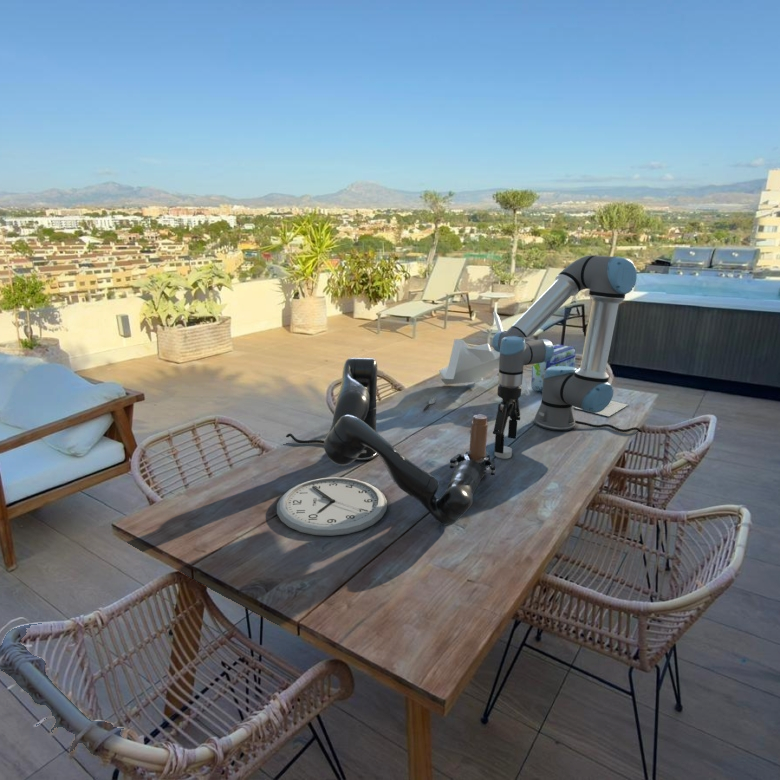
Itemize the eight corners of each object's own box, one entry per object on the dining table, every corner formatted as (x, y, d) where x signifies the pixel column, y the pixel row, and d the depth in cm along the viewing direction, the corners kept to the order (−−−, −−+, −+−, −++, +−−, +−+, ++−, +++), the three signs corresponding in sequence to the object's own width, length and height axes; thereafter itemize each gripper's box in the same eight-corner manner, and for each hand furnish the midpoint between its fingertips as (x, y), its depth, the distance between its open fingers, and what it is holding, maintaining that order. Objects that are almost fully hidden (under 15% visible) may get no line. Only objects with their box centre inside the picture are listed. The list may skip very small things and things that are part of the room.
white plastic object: (461, 429, 252) (437, 405, 227) (444, 352, 274) (420, 323, 250) (535, 404, 240) (518, 377, 215) (510, 326, 262) (492, 293, 237)
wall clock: (392, 527, 129) (268, 531, 127) (391, 533, 130) (269, 537, 127) (383, 473, 158) (282, 475, 155) (383, 478, 158) (282, 480, 156)
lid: (495, 450, 180) (496, 444, 179) (512, 453, 178) (513, 447, 177) (493, 457, 175) (493, 450, 174) (510, 459, 173) (510, 453, 172)
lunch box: (547, 397, 237) (552, 352, 231) (526, 391, 245) (531, 348, 238) (574, 386, 255) (580, 344, 249) (554, 381, 262) (559, 340, 256)
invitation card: (608, 416, 214) (573, 407, 224) (608, 416, 214) (573, 408, 224) (628, 404, 229) (594, 396, 238) (628, 405, 229) (594, 397, 238)
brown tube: (486, 478, 160) (491, 418, 154) (471, 480, 159) (475, 420, 153) (479, 471, 164) (484, 413, 158) (465, 473, 163) (469, 414, 157)
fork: (420, 411, 216) (420, 406, 216) (430, 400, 230) (431, 395, 230) (426, 412, 215) (426, 407, 215) (436, 401, 230) (436, 396, 229)
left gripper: (441, 485, 150) (455, 461, 166) (491, 494, 145) (501, 469, 161) (442, 461, 148) (457, 439, 163) (493, 470, 143) (503, 447, 158)
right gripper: (510, 373, 181) (506, 430, 188) (485, 393, 161) (481, 456, 167) (532, 376, 178) (527, 434, 184) (508, 397, 157) (504, 461, 164)
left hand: (478, 454), depth 162 cm, fingers closed on brown tube, 5 cm apart
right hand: (505, 445), depth 176 cm, fingers open, 13 cm apart
